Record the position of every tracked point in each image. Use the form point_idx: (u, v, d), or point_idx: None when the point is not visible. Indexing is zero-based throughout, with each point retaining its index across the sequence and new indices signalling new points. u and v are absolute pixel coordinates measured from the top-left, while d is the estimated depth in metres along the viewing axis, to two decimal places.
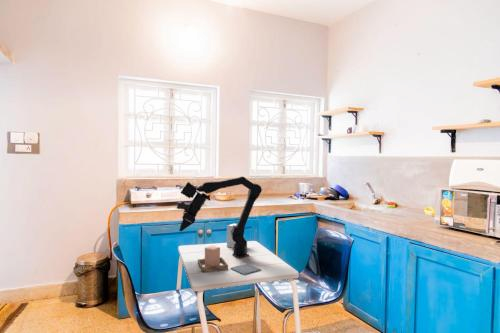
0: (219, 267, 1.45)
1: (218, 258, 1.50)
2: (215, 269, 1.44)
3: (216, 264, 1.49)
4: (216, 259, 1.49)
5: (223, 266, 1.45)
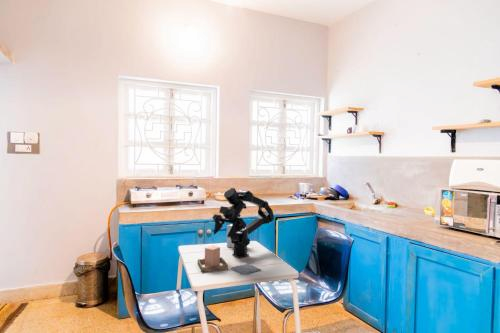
0: (219, 267, 1.45)
1: (218, 258, 1.50)
2: (215, 269, 1.44)
3: (216, 264, 1.49)
4: (216, 259, 1.49)
5: (223, 266, 1.45)
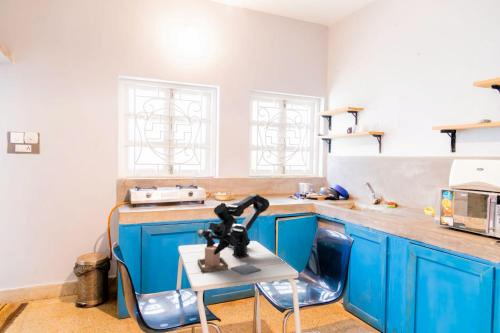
0: (219, 267, 1.45)
1: (218, 258, 1.50)
2: (215, 269, 1.44)
3: (216, 264, 1.49)
4: (216, 259, 1.48)
5: (223, 266, 1.45)
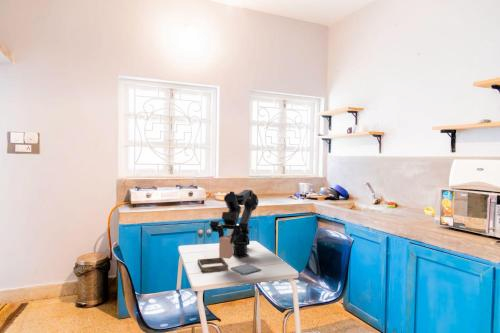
0: (219, 267, 1.45)
1: (232, 247, 1.47)
2: (215, 269, 1.44)
3: (231, 253, 1.46)
4: (231, 249, 1.46)
5: (223, 266, 1.45)
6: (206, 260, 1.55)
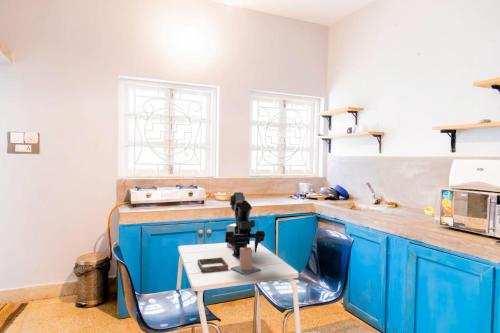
0: (219, 267, 1.45)
1: None
2: (215, 269, 1.44)
3: None
4: None
5: (223, 266, 1.45)
6: (206, 260, 1.55)
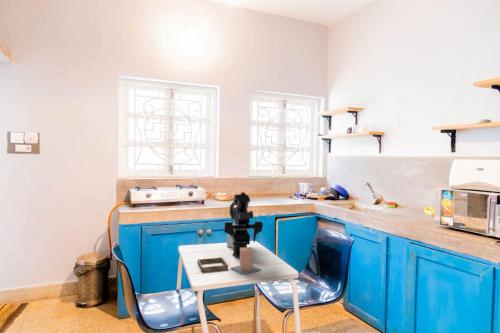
0: (219, 267, 1.45)
1: None
2: (215, 269, 1.44)
3: None
4: None
5: (223, 266, 1.45)
6: (206, 260, 1.55)
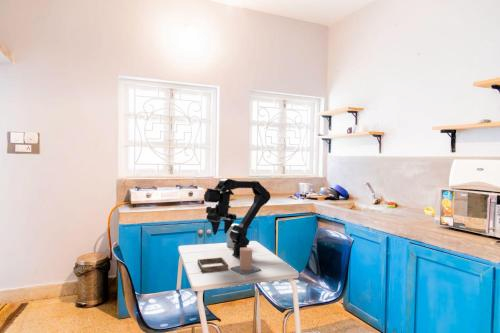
0: (219, 267, 1.45)
1: None
2: (215, 269, 1.44)
3: None
4: None
5: (223, 266, 1.45)
6: (206, 260, 1.55)
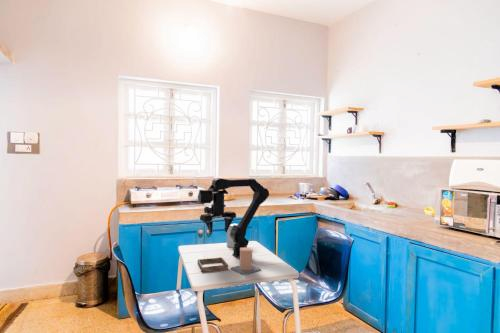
0: (219, 267, 1.45)
1: None
2: (215, 269, 1.44)
3: None
4: None
5: (223, 266, 1.45)
6: (206, 260, 1.55)
